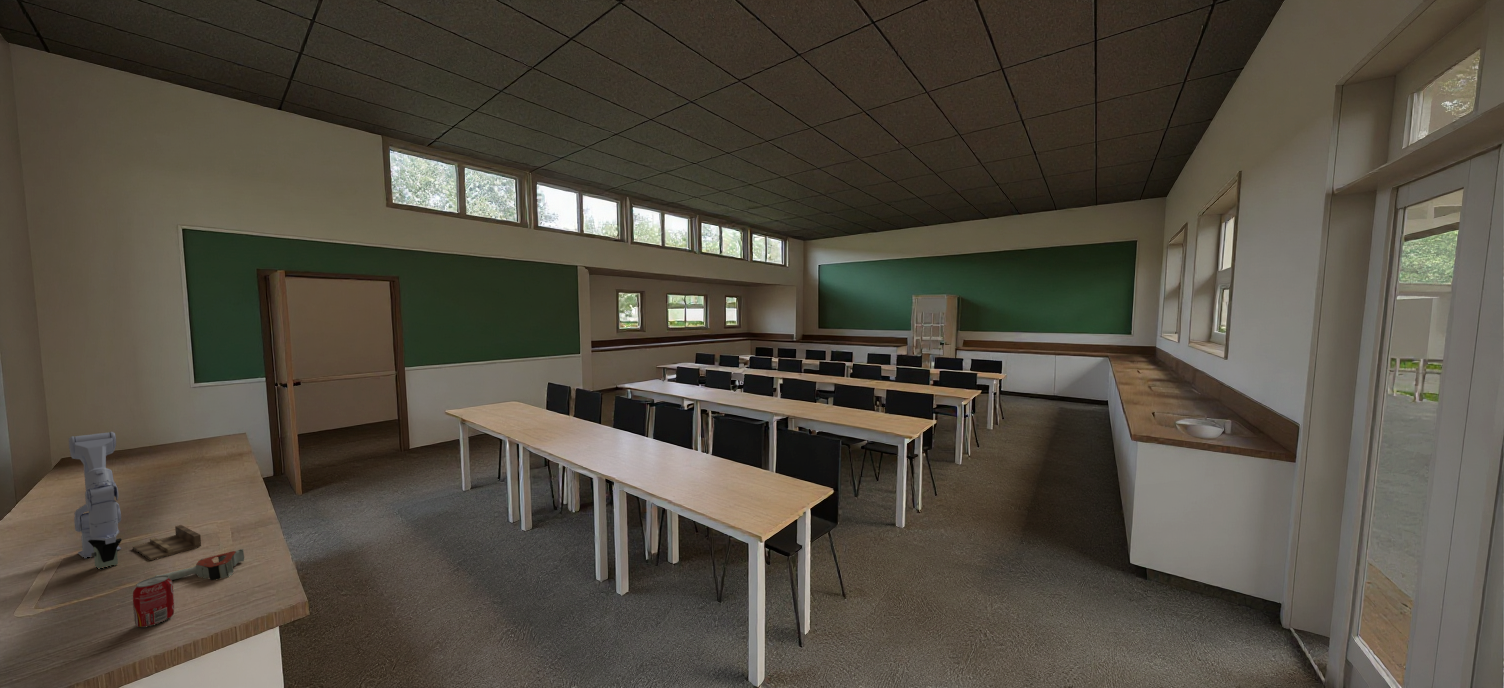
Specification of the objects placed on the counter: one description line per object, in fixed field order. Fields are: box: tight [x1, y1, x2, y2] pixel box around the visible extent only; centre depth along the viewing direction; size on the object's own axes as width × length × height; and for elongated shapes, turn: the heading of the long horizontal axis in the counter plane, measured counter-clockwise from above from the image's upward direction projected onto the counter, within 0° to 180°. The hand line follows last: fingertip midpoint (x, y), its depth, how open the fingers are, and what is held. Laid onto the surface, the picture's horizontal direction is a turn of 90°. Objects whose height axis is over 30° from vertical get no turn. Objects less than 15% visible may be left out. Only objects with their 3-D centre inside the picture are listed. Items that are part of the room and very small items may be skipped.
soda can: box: [132, 574, 175, 628], centre depth 133 cm, size 7×7×12 cm
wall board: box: [132, 524, 202, 561], centre depth 177 cm, size 20×12×4 cm, turn 64°
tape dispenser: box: [154, 548, 245, 581], centre depth 159 cm, size 18×5×20 cm
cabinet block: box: [91, 547, 119, 569], centre depth 163 cm, size 4×5×7 cm
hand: (106, 559), depth 163 cm, fingers closed on cabinet block, 4 cm apart
